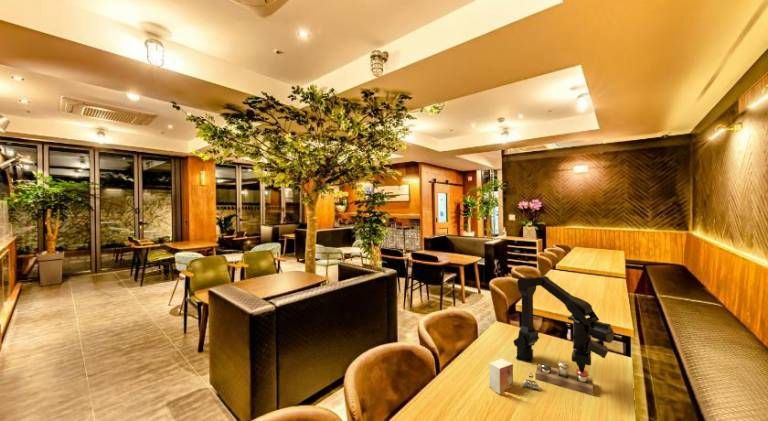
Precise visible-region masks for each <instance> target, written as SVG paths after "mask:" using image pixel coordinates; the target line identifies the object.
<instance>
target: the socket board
mask: <svg viewBox="0 0 768 421" xmlns="http://www.w3.org/2000/svg"><path fill="white" fill-rule="evenodd" d="M534 374H535V378H534V379H535V380H536V381H540V382H543V383H546V384H550V385H553V386H557V387H561V388H564V389H568V390H571V391H573V392H574V391H575V392H579V393H583V394H585V395H589V396H594V386H593V385H594V383H593V382H594V381H593V380H594V379H593V377H591V376H589V375H588V376H587V384H586V383H582V382H578V374H577V373H576V372H571V371H568V379H567V378H564V377H560V376H559V368H557V367H552V366H551V369H550V374H549V373H545V372H542V368H541V363H538V364H537V367H536V370H535V373H534Z"/></svg>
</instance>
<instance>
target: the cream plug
mask: <svg viewBox="0 0 768 421" xmlns="http://www.w3.org/2000/svg"><path fill="white" fill-rule="evenodd" d="M557 366H558V369H559V376H560V377H564V378H567V379H568V372H569V370H568V369H569V368H570V364H569V363H568V362H566V361H564V360H559V361H557Z"/></svg>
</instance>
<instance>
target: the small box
mask: <svg viewBox="0 0 768 421" xmlns="http://www.w3.org/2000/svg"><path fill="white" fill-rule="evenodd" d="M513 367H514V363H512V362H510V361H508V360H506V359H504V358H500V359H496V360H494V361H491V362H488V368H489V369H488V370H489V371H488V376H489V378H488V379H489V380H488V382H489V383H488V385H489V387H488V388H489V389H491V390H492V391H494V392H495V393H497V394H498V395H502V394H504V393H507V391H506V390H508V389H510V388H512V387H514V368H513Z"/></svg>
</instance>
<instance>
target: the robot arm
mask: <svg viewBox="0 0 768 421" xmlns="http://www.w3.org/2000/svg"><path fill="white" fill-rule="evenodd" d="M516 283H517V289H518V292H519V293H520V295H521V326H520V328H519V330H518V337H517V338H515V339H514V340H513V344H514V346H515V347H516V357H515V359H516V360H519V361H523V362H527V363H532V361H533V359H534V349H533V346H535V345H536V343H537V342H538V340H540V337H539V330H538V329H536V328H535V326H534V294H535V293H536V291H537V286H538V287H539V286H540V287H542V289H544V290H545V291H546V292H548V293H549V294H551V295H552V297H553V296H554V298H556V299H557V300H558V301H560V302H561V303H562V304H564V305H565V307H566V309H567V311H568V312H569V313H571V315H570V316H568V317H567V320H569V321H572V323H573V324H572V325H573V326H572V327H573V328H572V329H573V333H572V342H573V343H572V344H573V345H572V346H573V347H572V348H573V350H572V353H571V361H572V362H573V363H575V364H576V366H577V369H579V370H580V372H584V370H585V368H586V366H592V353H594V354H596V355H598V356H599V357H601V358H602V359H605V358H606V356H607V354H608V353H609V348H608V346H607V345H605V343H607V344H611V343H612V342H613V340H614V337H615V331H614V329H613V327H612V326H611V324H610V323H605V322H602V321H600V319H599V317H598V316H597V314H596V313H595V311H594V310H593V306H592V305H591V304H590V303H589V302H588V301H586V300H584V299H582V298H580V297H577V296H574V295H573V294H570V293H569V292H567V291H566V289H564V288H562V287H561V286H560V285H558V284H557V283H555V282H554V281H552V280H551V279H550V278H549V276H546V275H542V276H538V277H536V276H535V277H533V276H530V275H529V276H523V277H520V278H518V279H517V282H516ZM592 338H593V339H596V340H593V339H592Z"/></svg>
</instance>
